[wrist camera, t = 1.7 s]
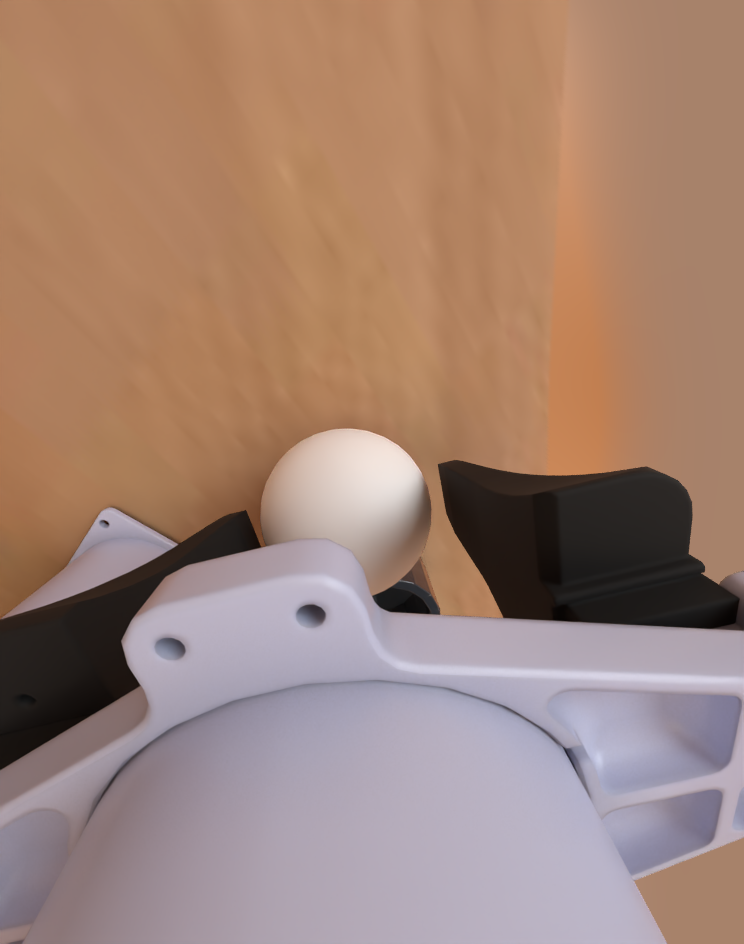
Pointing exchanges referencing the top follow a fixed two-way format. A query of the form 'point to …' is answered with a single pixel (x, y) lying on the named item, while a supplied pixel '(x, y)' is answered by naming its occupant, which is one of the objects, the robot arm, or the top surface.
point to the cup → (410, 594)
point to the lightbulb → (351, 501)
